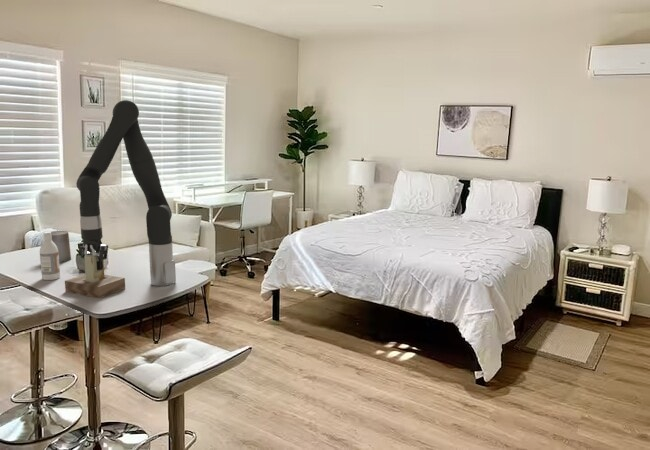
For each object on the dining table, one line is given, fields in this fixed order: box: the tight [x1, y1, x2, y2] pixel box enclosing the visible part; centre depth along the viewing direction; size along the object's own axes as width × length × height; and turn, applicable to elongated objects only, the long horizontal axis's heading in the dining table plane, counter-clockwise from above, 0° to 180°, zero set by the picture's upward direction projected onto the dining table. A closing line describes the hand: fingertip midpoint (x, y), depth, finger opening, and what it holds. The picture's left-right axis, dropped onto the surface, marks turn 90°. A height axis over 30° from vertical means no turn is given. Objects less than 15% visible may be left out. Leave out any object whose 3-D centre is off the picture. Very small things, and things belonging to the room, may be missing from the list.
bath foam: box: [39, 231, 61, 281], centre depth 216 cm, size 7×7×20 cm
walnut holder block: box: [64, 274, 126, 299], centre depth 202 cm, size 18×13×4 cm
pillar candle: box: [50, 230, 72, 263], centre depth 246 cm, size 10×10×15 cm
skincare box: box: [83, 254, 105, 283], centre depth 201 cm, size 6×4×12 cm
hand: (94, 269), depth 201 cm, fingers closed on skincare box, 4 cm apart
